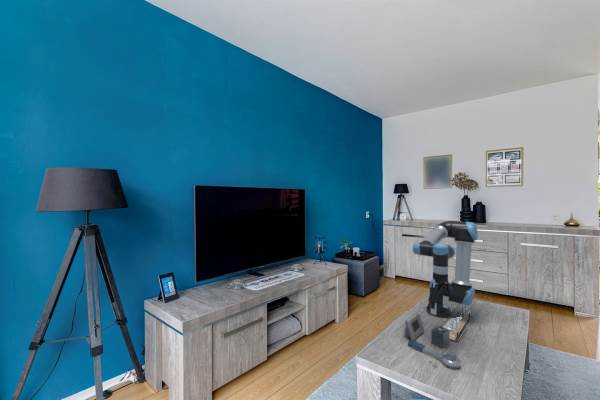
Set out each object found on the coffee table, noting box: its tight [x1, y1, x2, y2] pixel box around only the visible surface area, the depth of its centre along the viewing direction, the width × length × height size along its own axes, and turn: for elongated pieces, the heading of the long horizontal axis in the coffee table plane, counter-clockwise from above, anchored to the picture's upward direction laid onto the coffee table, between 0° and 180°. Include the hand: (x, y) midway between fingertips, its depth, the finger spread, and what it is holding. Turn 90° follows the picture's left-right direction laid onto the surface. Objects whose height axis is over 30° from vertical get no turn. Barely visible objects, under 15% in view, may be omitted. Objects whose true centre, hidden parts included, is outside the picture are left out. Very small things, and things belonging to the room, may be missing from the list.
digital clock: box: [404, 312, 425, 341], centre depth 164 cm, size 16×9×11 cm, turn 123°
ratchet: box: [407, 339, 461, 370], centre depth 143 cm, size 8×26×6 cm, turn 37°
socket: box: [431, 325, 450, 349], centre depth 154 cm, size 6×6×9 cm
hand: (439, 310), depth 154 cm, fingers open, 13 cm apart
